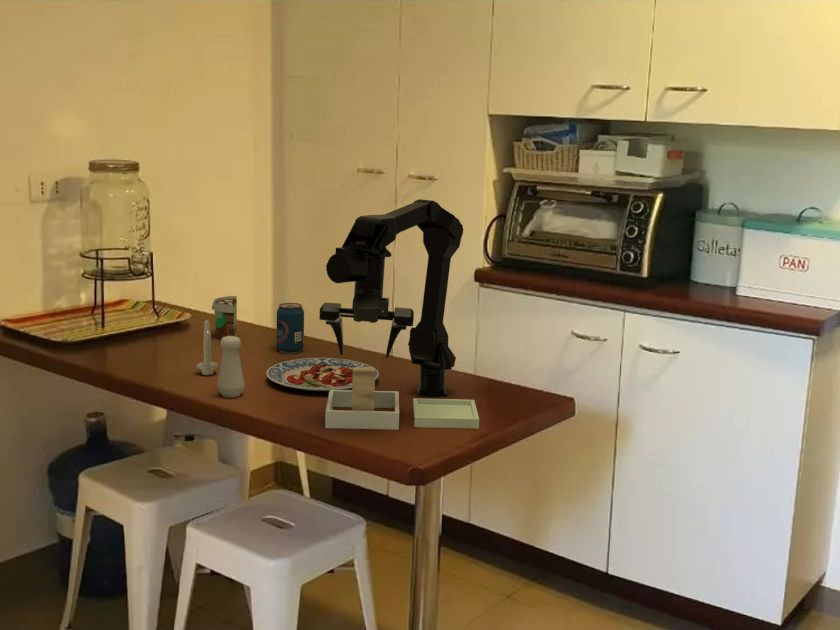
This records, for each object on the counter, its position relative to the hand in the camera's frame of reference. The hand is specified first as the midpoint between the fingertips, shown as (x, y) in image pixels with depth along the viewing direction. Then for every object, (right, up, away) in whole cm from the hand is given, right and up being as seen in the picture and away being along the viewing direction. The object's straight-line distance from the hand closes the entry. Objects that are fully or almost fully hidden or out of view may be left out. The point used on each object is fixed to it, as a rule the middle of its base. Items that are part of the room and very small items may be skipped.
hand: (364, 356), depth 204 cm
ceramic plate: (-11, -7, +29) cm, 32 cm away
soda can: (-22, -1, +54) cm, 58 cm away
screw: (-38, -6, +31) cm, 50 cm away
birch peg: (-1, -13, +4) cm, 13 cm away
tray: (+16, -13, +5) cm, 22 cm away
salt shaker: (-30, -9, +15) cm, 35 cm away
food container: (-41, +2, +66) cm, 78 cm away
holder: (-1, -13, +4) cm, 13 cm away
